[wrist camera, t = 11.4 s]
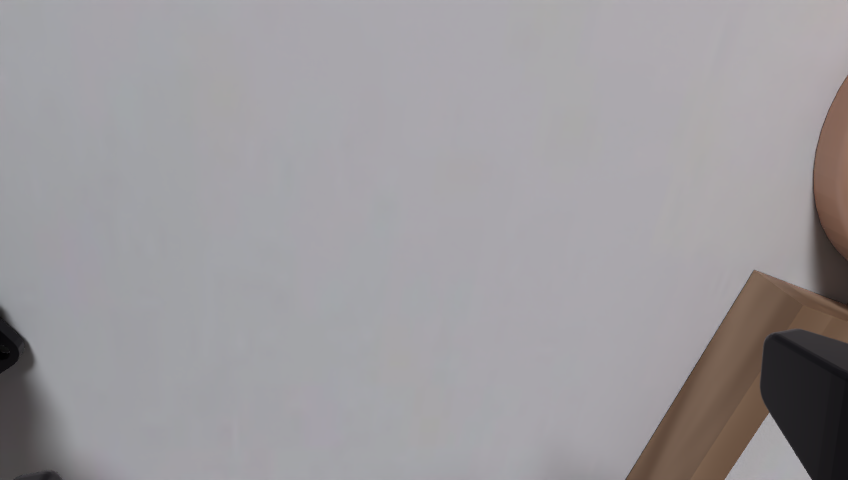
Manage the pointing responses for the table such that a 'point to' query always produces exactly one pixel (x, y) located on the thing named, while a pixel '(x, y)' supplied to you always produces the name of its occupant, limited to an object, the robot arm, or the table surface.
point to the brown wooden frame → (732, 382)
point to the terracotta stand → (834, 173)
